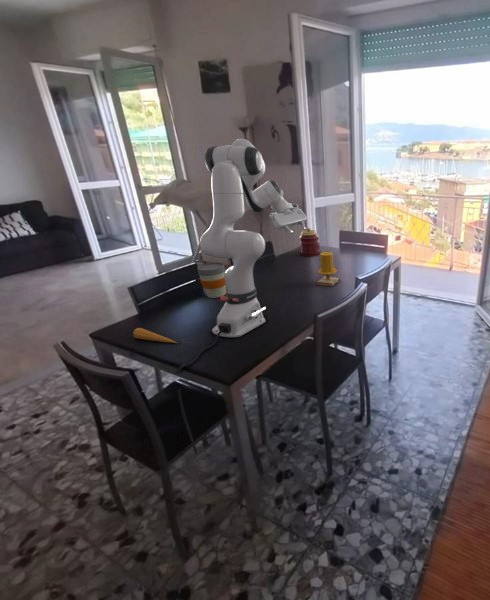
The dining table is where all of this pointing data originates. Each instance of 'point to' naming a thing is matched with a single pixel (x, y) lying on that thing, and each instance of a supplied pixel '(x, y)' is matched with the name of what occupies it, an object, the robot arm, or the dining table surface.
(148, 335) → the carrot
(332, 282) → the hat peg
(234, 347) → the dining table surface
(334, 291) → the dining table surface
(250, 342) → the dining table surface
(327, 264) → the hat
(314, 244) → the kitchen canister
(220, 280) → the reusable coffee cup
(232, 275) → the robot arm
